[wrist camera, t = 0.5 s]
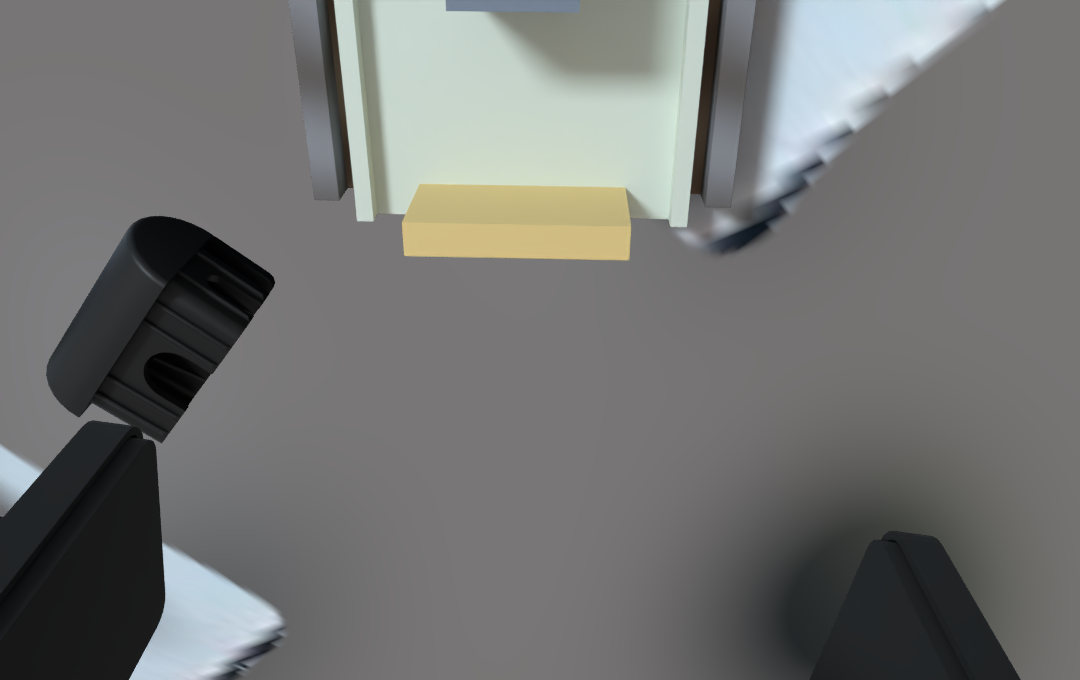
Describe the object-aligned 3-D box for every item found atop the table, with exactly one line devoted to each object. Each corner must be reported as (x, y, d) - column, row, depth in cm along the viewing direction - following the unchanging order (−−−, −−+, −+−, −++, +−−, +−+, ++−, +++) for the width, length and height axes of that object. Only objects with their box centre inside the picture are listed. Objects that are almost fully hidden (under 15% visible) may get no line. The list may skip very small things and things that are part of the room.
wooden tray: (316, -277, 34) (271, -300, 28) (728, -276, 33) (756, -298, 28) (365, 207, 43) (337, 254, 38) (682, 213, 43) (697, 261, 38)
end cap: (166, 193, 45) (104, 244, 39) (284, 272, 47) (242, 333, 41) (86, 322, 49) (19, 387, 43) (198, 390, 51) (149, 461, 45)
